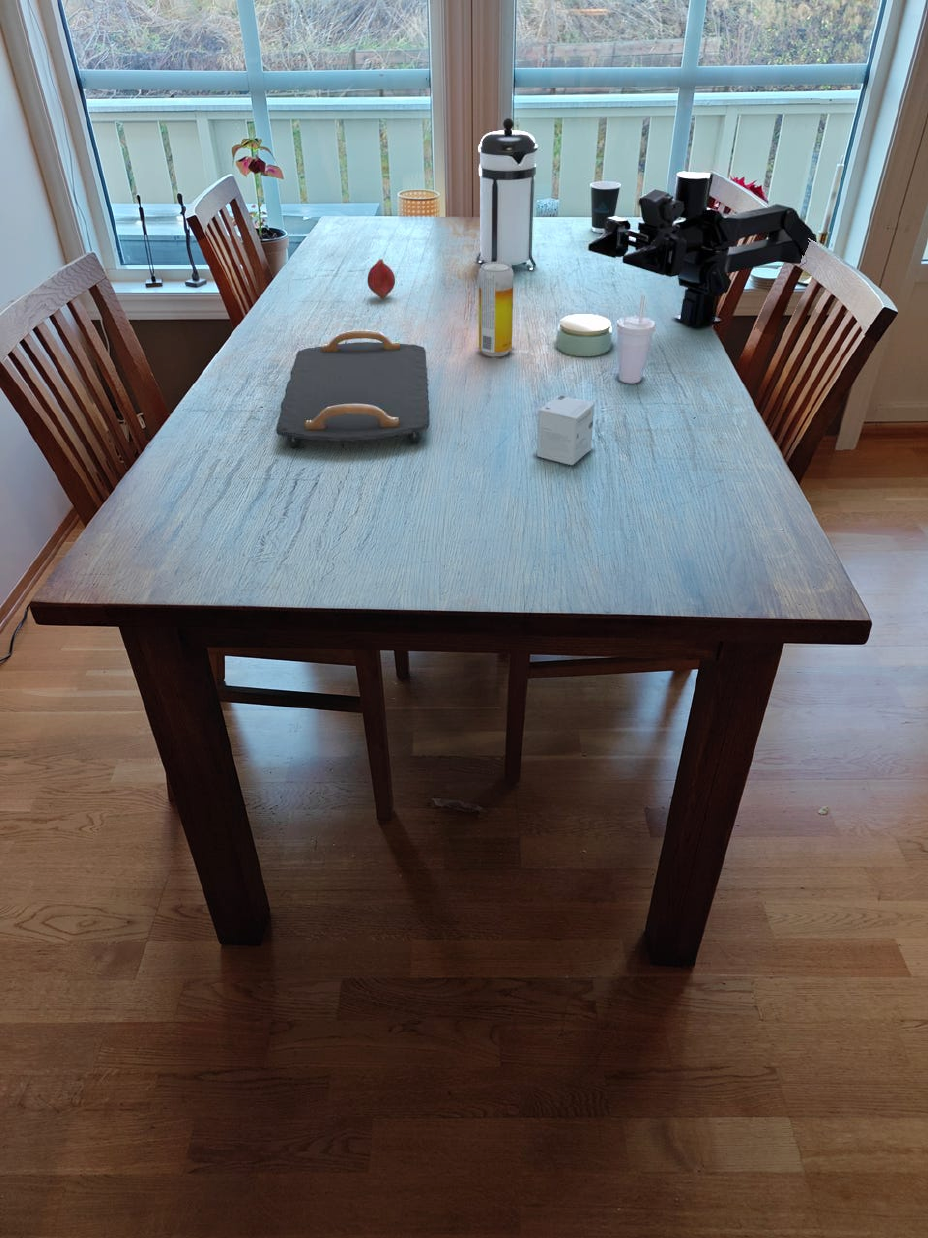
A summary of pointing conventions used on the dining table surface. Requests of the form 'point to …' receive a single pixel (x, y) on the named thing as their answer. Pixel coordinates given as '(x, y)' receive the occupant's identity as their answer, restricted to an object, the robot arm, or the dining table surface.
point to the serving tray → (356, 391)
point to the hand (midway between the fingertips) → (605, 253)
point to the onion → (381, 279)
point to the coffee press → (507, 196)
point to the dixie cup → (603, 203)
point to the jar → (584, 335)
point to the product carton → (565, 429)
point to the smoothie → (633, 345)
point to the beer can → (495, 308)
